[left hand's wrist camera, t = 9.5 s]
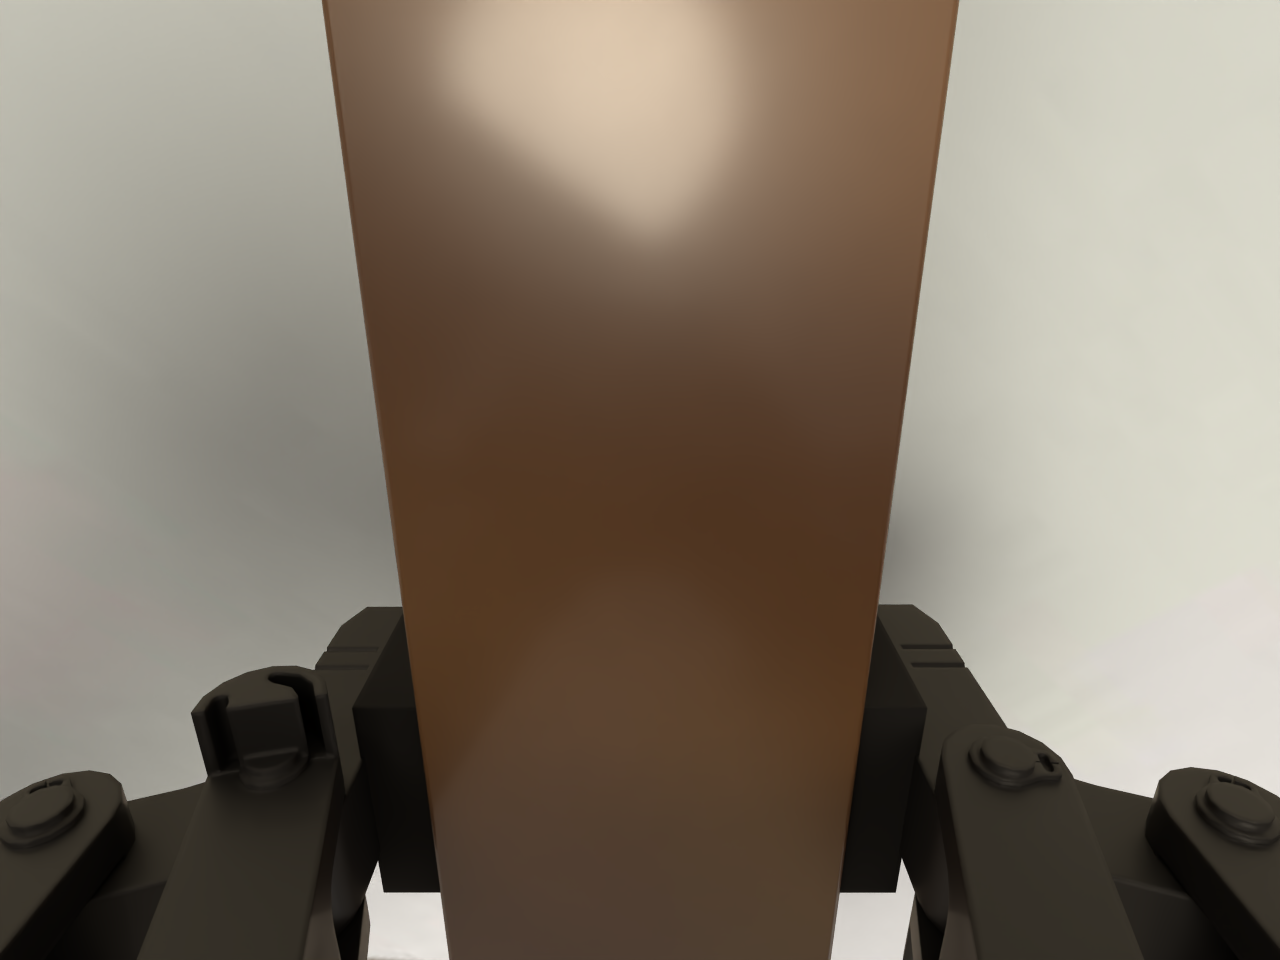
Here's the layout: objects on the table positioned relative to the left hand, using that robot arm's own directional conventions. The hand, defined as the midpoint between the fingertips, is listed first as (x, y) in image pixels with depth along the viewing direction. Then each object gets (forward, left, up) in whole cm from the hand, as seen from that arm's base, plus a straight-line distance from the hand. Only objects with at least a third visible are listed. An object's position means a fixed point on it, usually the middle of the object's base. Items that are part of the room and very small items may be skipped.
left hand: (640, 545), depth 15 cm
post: (-4, +34, -1) cm, 35 cm away
